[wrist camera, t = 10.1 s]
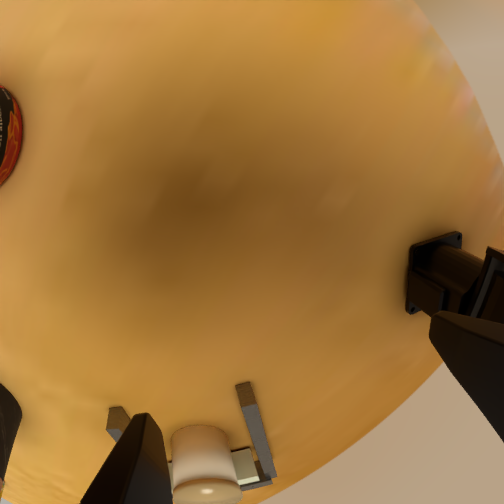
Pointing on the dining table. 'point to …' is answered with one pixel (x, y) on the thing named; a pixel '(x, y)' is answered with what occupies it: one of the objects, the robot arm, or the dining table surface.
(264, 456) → the grey u-shaped frame
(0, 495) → the supplement bottle
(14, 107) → the canned food
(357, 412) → the dining table surface
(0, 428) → the travel mug
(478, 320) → the robot arm
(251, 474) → the pusher
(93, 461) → the dining table surface
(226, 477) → the jar
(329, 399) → the dining table surface
